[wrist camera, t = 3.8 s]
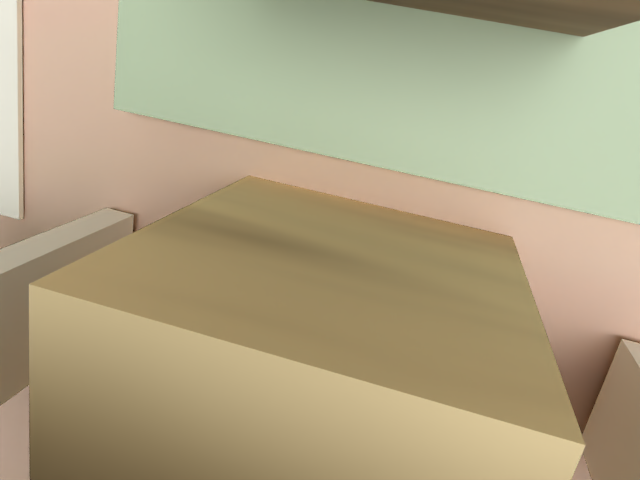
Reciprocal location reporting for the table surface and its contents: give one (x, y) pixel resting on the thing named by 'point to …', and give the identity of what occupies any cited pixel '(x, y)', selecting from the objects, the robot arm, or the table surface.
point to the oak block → (295, 350)
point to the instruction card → (11, 109)
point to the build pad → (399, 92)
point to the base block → (538, 13)
